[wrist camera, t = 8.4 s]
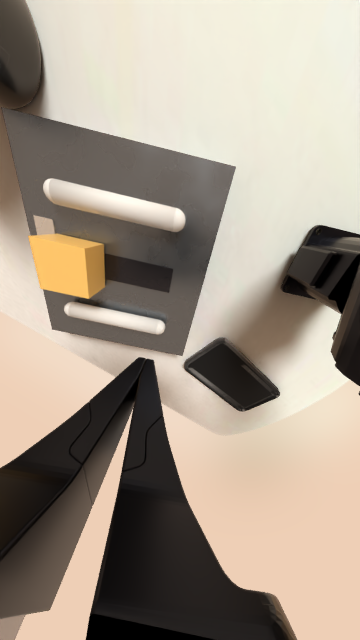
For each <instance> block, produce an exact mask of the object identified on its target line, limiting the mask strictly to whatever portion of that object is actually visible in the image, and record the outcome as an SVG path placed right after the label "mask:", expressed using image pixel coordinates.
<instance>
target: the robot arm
mask: <svg viewBox="0 0 360 640" xmlns="http://www.w3.org/2000/svg"><path fill="white" fill-rule="evenodd" d="M317 229H319V232H318V233H317V234H316V230H317ZM287 273H288V274H287V276H286V278H285V280H284V281H283V283H282V285H281V290H282V291H283V292H286V293H290V294H295V295H299V296H303V297H308V298H312V299H317V300H319V301H320V302H322V303H324V304H325V305H327V306H328V307H330V308H332V309H333V310H335V311H337V312H338V313H340V314H341V318H340V321H339V324H338V327H337V330H336V332H334V334H333V337H332V338H333V340H334V341H333V344H332V348H331V353H332V355H333V358H334V360H335V361H336V364H335V366H336V368H337V369H338V370H339V371H340V372H341V373H342V374H343V375H345V376H346V377H347V378H349V379H350V380H351V381H353V382H354V383H356V384H357V385H359V386H360V234H356V233H352V232H348V231H343V230H339V229H335V228H331V227H327V226H323V225H317V226H314V227H313V228H312V229H311V231H310V233H309V235H308V237H307V238H306V240H305V242H304V244H303V246H302V247H301V248H300V249H299V251H298V253H297V255H296V257H295V258H294V260H293V262H292V264H291V266H290V268H289V270H288V272H287ZM286 286H288V288H287V289H285V287H286ZM359 395H360V391H359ZM133 407H134V408H133ZM132 409H133V413H132V419H131V424H130V429H129V435H128V440H127V445H126V451H125V456H124V461H123V467H122V473H121V478H120V483H119V488H118V493H117V498H116V502H115V506H114V511H113V515H112V519H111V524H110V528H109V533H108V537H107V542H106V546H105V551H104V555H103V560H102V564H101V569H100V573H99V578H98V582H97V586H96V591H95V595H94V600H93V604H92V608H91V613H90V617H89V623H88V630H87V636H86V640H297V638H296V636H295V634H294V632H293V630H292V628H291V626H290V623H289V621H288V619H287V617H286V615H285V613H284V611H283V609H282V607H281V604H280V602H279V600H278V599H277V597H276V596H274V595H272V594H270V593H265V592H259V591H253V590H246V589H243V588H240V587H238V586H237V585H236V584H234V583H233V582H232V581H231V580H230V579H229V578H228V576H227V575H226V574H225V573H224V571H223V570H222V567H221V566H220V564H219V562H218V560H217V558H216V556H215V554H214V552H213V550H212V548H211V547H210V544H209V543H208V541H207V539H206V537H205V535H204V533H203V531H202V529H201V527H200V525H199V523H198V521H197V519H196V517H195V515H194V514H193V511H192V509H191V508H190V506H189V503H188V501H187V499H186V496H185V493H184V490H183V488H182V485H181V481H180V478H179V475H178V472H177V468H176V465H175V462H174V458H173V455H172V452H171V448H170V445H169V441H168V437H167V432H166V428H165V423H164V417H163V411H162V406H161V400H160V394H159V388H158V382H157V376H156V370H155V365H154V360H151V359H145V358H141V357H139V358H137V359H136V360H135V361H134V362H133V363H132V364H131V365H129V366H128V367H127V368H126V369H125V370H124V371H123V372H122V373H120V374H119V375H118V376H117V377H116V378H115V379H114V380H113V381H111V382H110V383H109V384H108V385H107V386H106V387H105V388H104V389H102V390H101V391H100V392H99V393H98V394H97V395H96V396H94V397H93V398H92V399H91V400H90V401H89V402H88V403H87V404H85V405H84V406H83V407H82V408H81V409H80V410H79V411H77V412H76V413H75V414H74V415H73V416H71V417H70V418H69V419H68V420H66V421H65V422H64V423H63V424H61V425H60V426H59V427H58V428H56V429H55V430H53V431H52V432H51V433H49V434H48V435H47V436H45V437H44V438H43V439H41V440H40V441H39V442H37V443H36V444H35V445H33V446H32V447H30V448H29V449H28V450H26V451H25V452H24V453H22V454H21V455H20V456H19V457H17V458H16V459H14V460H12V461H11V462H10V463H8V464H6V465H5V466H3V467H1V468H0V640H15V638H16V636H17V633H18V631H19V628H20V626H21V624H22V622H23V619H24V617H25V615H26V614H31V613H37V612H43V611H49V610H50V608H51V606H52V604H53V601H54V599H55V596H56V594H57V591H58V589H59V587H60V584H61V581H62V579H63V577H64V575H65V572H66V570H67V567H68V565H69V562H70V560H71V558H72V555H73V552H74V550H75V548H76V545H77V543H78V540H79V538H80V536H81V533H82V531H83V528H84V526H85V523H86V521H87V519H88V516H89V514H90V511H91V509H92V506H93V504H94V502H95V499H96V497H97V494H98V492H99V489H100V487H101V484H102V482H103V479H104V477H105V475H106V472H107V470H108V467H109V465H110V462H111V460H112V458H113V455H114V453H115V451H116V448H117V446H118V443H119V441H120V438H121V436H122V433H123V431H124V429H125V426H126V423H127V421H128V419H129V416H130V414H131V411H132Z"/></svg>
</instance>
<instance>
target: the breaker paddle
mask: <svg viewBox="0 0 360 640" xmlns="http://www.w3.org/2000/svg"><path fill="white" fill-rule="evenodd" d="M28 237H29V241H30V245H31V250H32V254H33V258H34V262H35V267H36V271H37V275H38V279H39V284H40V288H41V289H45V290H50V291H54V292H59V293H64V294H68V295H73V296H78V297H82V298H87V299H89V298H91V297H92V296H93V295H95V294H96V293H98V292H99V291H100V290H102V289H103V288H105V265H104V244H101V243H97V242H92V241H88V240H84V239H79V238H75V237H70V236H66V235H62V234H47V235H34V236H28Z"/></svg>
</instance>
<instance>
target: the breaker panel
mask: <svg viewBox="0 0 360 640" xmlns="http://www.w3.org/2000/svg"><path fill="white" fill-rule="evenodd" d="M2 111H3V116H4V120H5V124H6V129H7V133H8V138H9V142H10V146H11V151H12V155H13V159H14V164H15V168H16V173H17V177H18V181H19V186H20V190H21V194H22V199H23V203H24V208H25V212H26V216H27V221H28V225H29V230H30V234H31V236H34V235H47V234H62V235H66V236H70V237H75V238H79V239H84V240H88V241H92V242H97V243H101V244H104V265H105V288H103V289H102V290H100V291H99V292H98V293H96V294H95V295H93V296H92V297H91V298H89V299H87V298H82V297H78V296H73V295H68V294H64V293H59V292H54V291H50V290H45V289H43V291H44V295H45V300H46V304H47V308H48V313H49V317H50V322H51V326H52V329H53V330H58V331H63V332H68V333H72V334H77V335H82V336H87V337H92V338H97V339H102V340H107V341H112V342H117V343H122V344H126V345H131V346H136V347H141V348H146V349H151V350H156V351H161V352H166V353H171V354H176V355H180V356H183V352H184V349H185V345H186V342H187V338H188V334H189V331H190V327H191V324H192V320H193V317H194V313H195V310H196V306H197V303H198V299H199V296H200V292H201V288H202V285H203V281H204V278H205V274H206V271H207V267H208V264H209V260H210V257H211V253H212V250H213V246H214V242H215V239H216V235H217V232H218V228H219V225H220V221H221V218H222V214H223V211H224V207H225V204H226V200H227V196H228V193H229V189H230V186H231V182H232V179H233V175H234V172H235V168H236V167H235V166H231V165H227V164H223V163H219V162H215V161H211V160H207V159H203V158H199V157H195V156H192V155H188V154H184V153H180V152H176V151H172V150H168V149H164V148H160V147H156V146H152V145H148V144H144V143H140V142H137V141H133V140H129V139H125V138H121V137H117V136H113V135H109V134H105V133H101V132H97V131H93V130H89V129H85V128H81V127H78V126H74V125H70V124H66V123H62V122H58V121H54V120H50V119H46V118H42V117H38V116H34V115H30V114H26V113H22V112H19V111H15V110H11V109H7V108H3V107H2ZM51 178H53V179H58V180H62V181H66V182H70V183H74V184H79V185H83V186H87V187H91V188H95V189H99V190H104V191H108V192H112V193H116V194H120V195H124V196H129V197H133V198H137V199H141V200H145V201H149V202H154V203H158V204H162V205H166V206H170V207H174V208H178V209H180V210H181V211H182V212H183V213H184V215H185V225H184V227H183V229H182V230H180V231H179V232H171V231H167V230H163V229H158V228H154V227H150V226H146V225H141V224H137V223H133V222H129V221H124V220H120V219H116V218H111V217H107V216H103V215H99V214H94V213H90V212H86V211H82V210H77V209H73V208H69V207H64V206H60V205H57V204H54V203H53V202H51V201H50V200H49V199H48V198H47V197H46V195H45V193H44V190H43V184H44V182H45V181H46V180H47V179H51ZM69 302H78V303H82V304H87V305H92V306H96V307H101V308H106V309H111V310H115V311H120V312H125V313H130V314H134V315H139V316H144V317H148V318H153V319H158V320H161V321H163V322H164V324H165V330H164V332H163V333H162V334H159V335H157V334H151V333H147V332H142V331H137V330H132V329H127V328H123V327H118V326H113V325H108V324H103V323H99V322H94V321H89V320H84V319H79V318H74V317H70V316H68V315H67V314H66V313H65V312H64V307H65V305H66V304H67V303H69Z"/></svg>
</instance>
